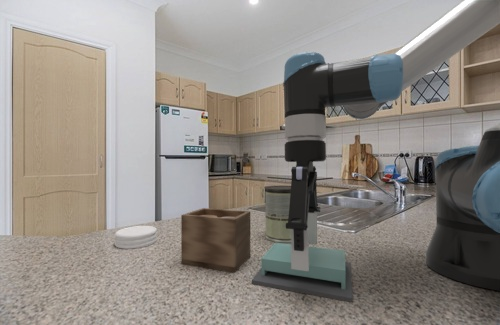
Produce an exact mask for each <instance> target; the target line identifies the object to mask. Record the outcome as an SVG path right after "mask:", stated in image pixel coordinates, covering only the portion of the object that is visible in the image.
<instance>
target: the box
mask: <svg viewBox="0 0 500 325" xmlns="http://www.w3.org/2000/svg"><path fill="white" fill-rule="evenodd" d="M180 217H181V218H180V219H181V220H180V221H181V225H180V228H181V234H180V235H181V238H180V239H181V247H180V248H181V250H180V251H181V253H180V254H181V257H180V258H181V263H180V264H182V265H187V266H193V267H198V268H199V267H200V268H205V269H209V270H216V271H222V272H228V273H236V272H237V271H238V270H239V269H240V268H241V267H242V266H243V265H244V264H245V263H246V262H247V261H248V260H249V259H250V258H251V211H248V210H237V209H236V210H235V209H219V208H208V207H207V208H206V207H203V208H199V209H196V210H192V211H190V212H187V213H184V214H181V216H180Z"/></svg>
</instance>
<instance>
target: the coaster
mask: <svg viewBox="0 0 500 325" xmlns="http://www.w3.org/2000/svg"><path fill="white" fill-rule="evenodd" d="M157 232H158V229H157V228H156V227H155V226H152V225H137V226H129V227H125V228H121V229H118V230H117V231H116V232H115V234H114V237H115V238H114V245H115V247H116V248H118V249H121V248H122V250H123V249H124V250H133V249H139V248H141V249H142V248H144V247H145V248H146V247H149V246H151V245H154V244H155V243H156V242H157V240H158V237H157V236H158V233H157Z"/></svg>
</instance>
